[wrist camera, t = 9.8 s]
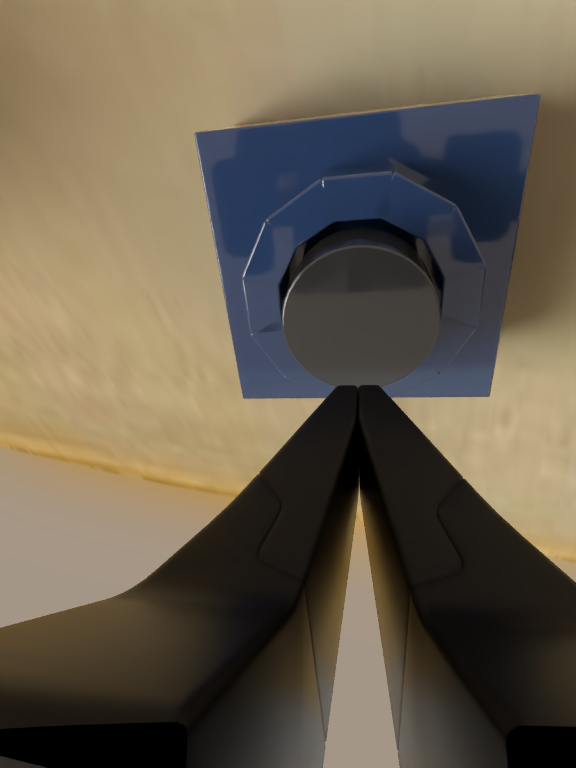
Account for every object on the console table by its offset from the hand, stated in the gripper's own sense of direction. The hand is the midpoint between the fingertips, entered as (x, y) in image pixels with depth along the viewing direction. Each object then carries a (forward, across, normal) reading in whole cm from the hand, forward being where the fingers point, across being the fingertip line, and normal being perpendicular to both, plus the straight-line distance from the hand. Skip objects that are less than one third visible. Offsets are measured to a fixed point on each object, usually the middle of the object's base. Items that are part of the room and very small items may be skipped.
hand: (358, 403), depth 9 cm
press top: (+6, 0, 0) cm, 6 cm away
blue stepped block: (+12, 0, 0) cm, 12 cm away
